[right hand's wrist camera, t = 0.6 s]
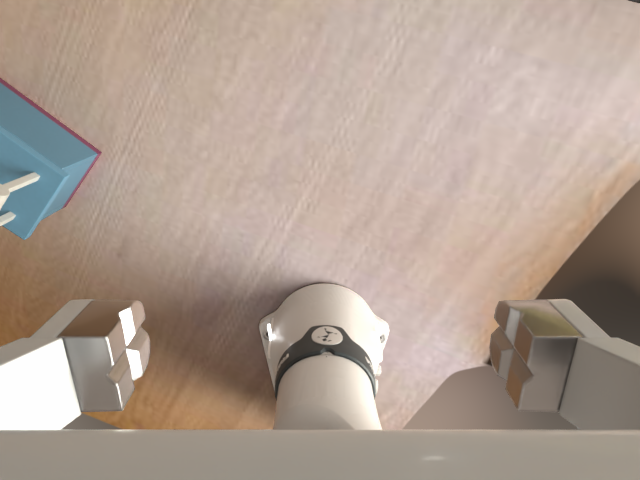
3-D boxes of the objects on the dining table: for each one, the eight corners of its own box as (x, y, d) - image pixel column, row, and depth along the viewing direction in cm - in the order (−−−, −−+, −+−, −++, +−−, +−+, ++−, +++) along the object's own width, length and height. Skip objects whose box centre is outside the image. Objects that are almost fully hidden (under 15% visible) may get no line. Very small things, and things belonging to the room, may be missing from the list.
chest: (101, 152, 55) (62, 169, 47) (65, 206, 58) (22, 231, 49) (-11, 70, 52) (-75, 72, 43) (-43, 132, 54) (-110, 145, 46)
